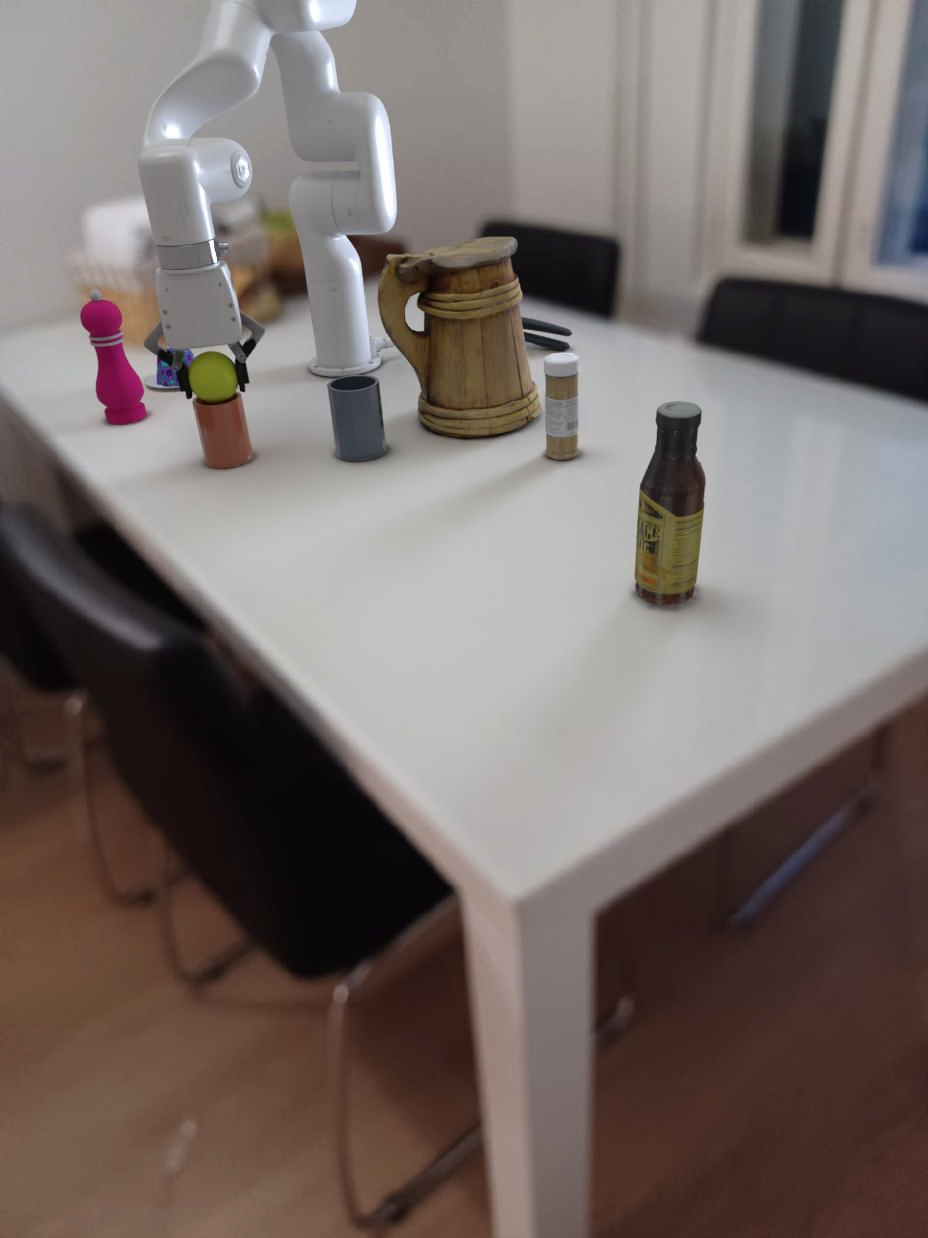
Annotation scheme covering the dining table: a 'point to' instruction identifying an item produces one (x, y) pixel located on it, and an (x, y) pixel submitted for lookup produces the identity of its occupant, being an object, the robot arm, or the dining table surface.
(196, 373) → the ball
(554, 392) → the sprinkles bottle
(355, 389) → the grey cup
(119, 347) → the pepper mill
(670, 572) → the sauce bottle
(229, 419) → the terracotta cup
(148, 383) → the pudding
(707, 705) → the dining table surface
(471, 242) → the tankard
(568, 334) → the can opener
